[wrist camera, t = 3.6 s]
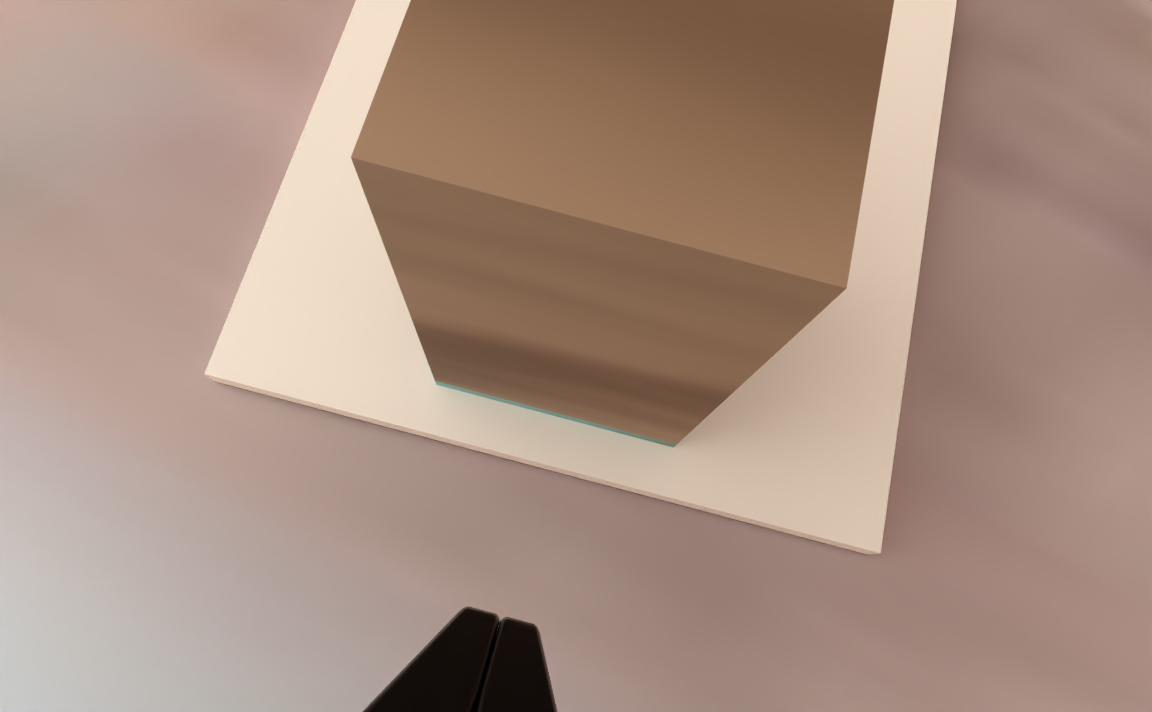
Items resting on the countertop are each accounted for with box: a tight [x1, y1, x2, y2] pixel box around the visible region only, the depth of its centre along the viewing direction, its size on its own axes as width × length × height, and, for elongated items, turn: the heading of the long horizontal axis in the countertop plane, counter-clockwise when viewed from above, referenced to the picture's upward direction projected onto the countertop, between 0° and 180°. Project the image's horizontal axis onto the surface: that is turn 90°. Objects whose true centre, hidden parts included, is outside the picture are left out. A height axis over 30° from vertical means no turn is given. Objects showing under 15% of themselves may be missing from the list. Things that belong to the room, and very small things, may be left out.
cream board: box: [205, 0, 957, 555], centre depth 19 cm, size 17×14×1 cm
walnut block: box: [351, 0, 894, 447], centre depth 13 cm, size 5×5×9 cm
